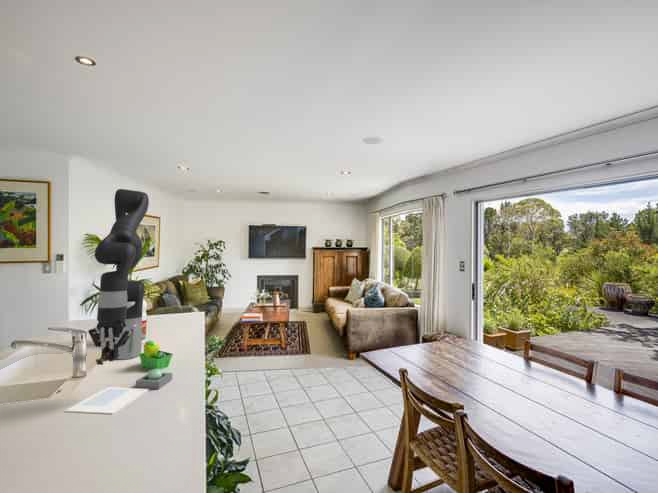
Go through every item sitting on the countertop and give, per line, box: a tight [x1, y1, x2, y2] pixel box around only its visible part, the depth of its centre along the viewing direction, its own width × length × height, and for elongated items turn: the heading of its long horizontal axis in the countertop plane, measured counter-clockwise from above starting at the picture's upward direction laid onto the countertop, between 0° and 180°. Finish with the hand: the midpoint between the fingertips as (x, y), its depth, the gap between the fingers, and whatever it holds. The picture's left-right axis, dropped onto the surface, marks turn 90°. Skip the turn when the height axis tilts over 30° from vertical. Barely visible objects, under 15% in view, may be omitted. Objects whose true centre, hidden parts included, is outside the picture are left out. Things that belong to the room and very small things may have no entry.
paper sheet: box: [64, 386, 150, 415], centre depth 92 cm, size 16×14×1 cm
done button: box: [147, 369, 163, 380], centre depth 104 cm, size 4×4×3 cm
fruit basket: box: [138, 340, 174, 370], centre depth 120 cm, size 11×9×11 cm
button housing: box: [135, 372, 173, 390], centre depth 104 cm, size 8×8×2 cm
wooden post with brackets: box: [95, 351, 120, 366], centre depth 94 cm, size 2×8×4 cm, turn 176°
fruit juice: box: [127, 297, 148, 344], centre depth 151 cm, size 9×9×28 cm
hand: (109, 360), depth 94 cm, fingers closed on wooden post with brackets, 1 cm apart
